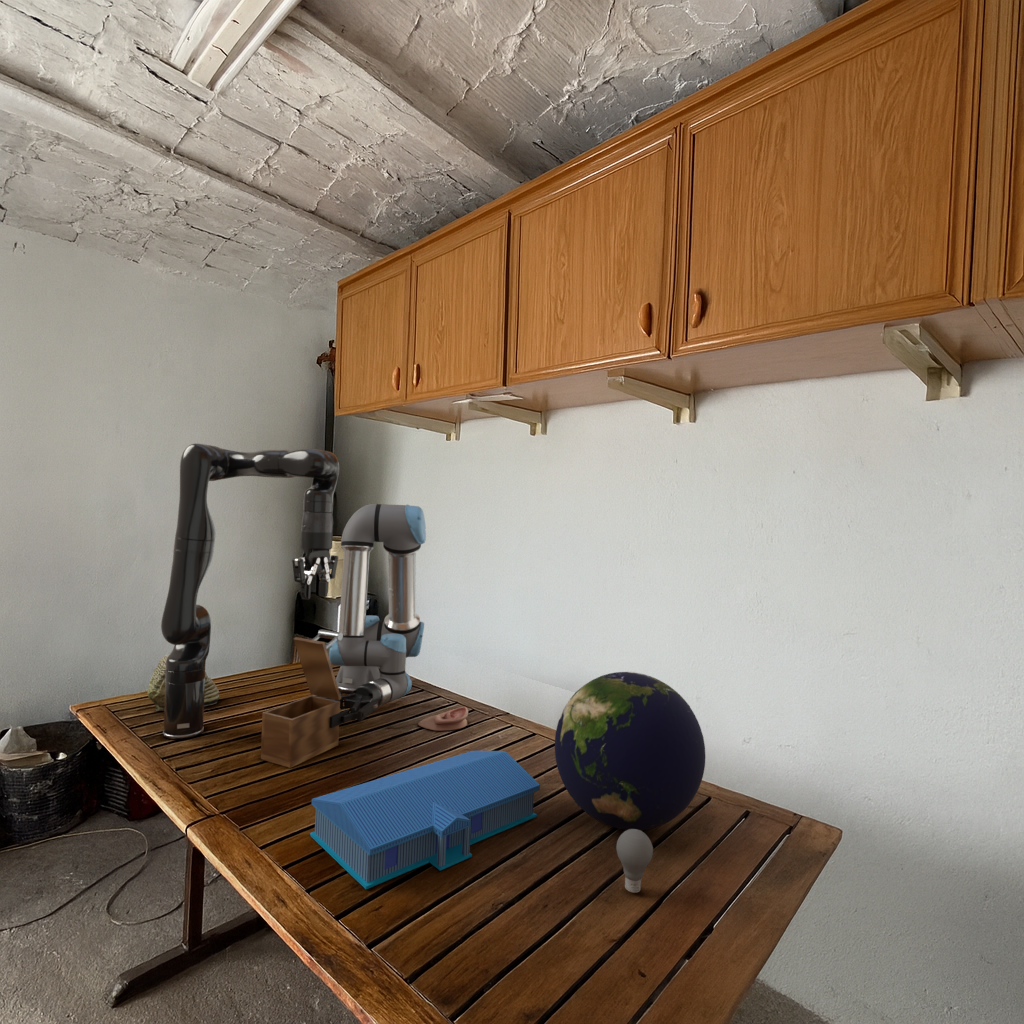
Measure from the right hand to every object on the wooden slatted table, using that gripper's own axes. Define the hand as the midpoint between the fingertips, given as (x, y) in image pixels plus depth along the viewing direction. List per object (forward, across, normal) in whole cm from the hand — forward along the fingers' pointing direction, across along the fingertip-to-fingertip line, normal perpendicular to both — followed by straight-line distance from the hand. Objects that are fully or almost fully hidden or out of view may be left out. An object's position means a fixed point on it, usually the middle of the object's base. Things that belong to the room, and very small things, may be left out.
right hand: (315, 718), depth 160 cm
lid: (0, 0, +12) cm, 12 cm away
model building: (+19, -48, -7) cm, 52 cm away
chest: (+5, 0, -7) cm, 8 cm away
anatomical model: (-30, -19, -7) cm, 37 cm away
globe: (-3, -80, -7) cm, 80 cm away
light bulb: (+19, -87, -7) cm, 90 cm away
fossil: (-2, +52, -7) cm, 53 cm away
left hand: (+2, 0, +31) cm, 31 cm away
